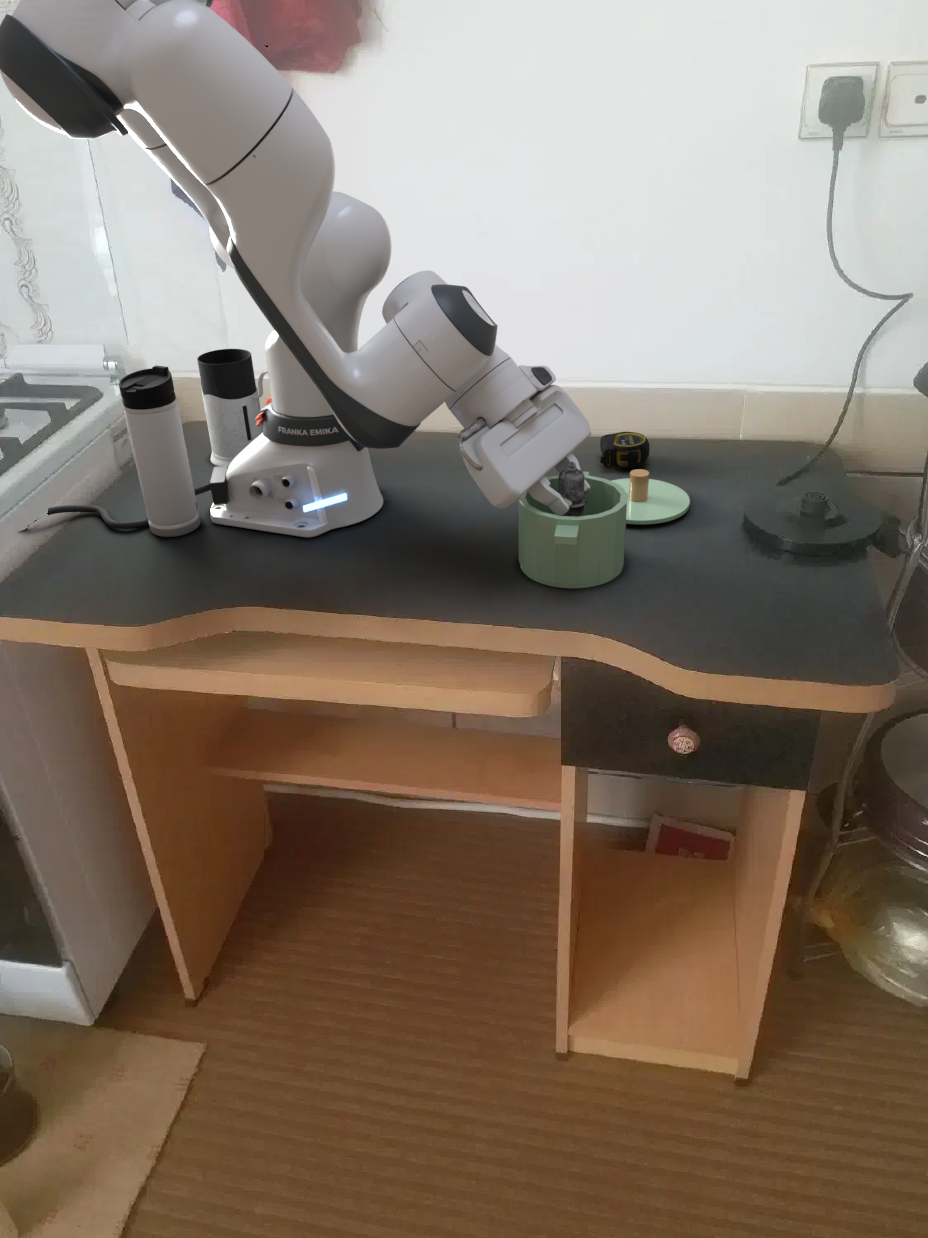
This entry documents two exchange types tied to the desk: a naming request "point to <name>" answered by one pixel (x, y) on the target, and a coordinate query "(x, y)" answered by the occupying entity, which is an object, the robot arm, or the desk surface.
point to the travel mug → (160, 451)
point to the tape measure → (624, 449)
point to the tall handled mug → (230, 401)
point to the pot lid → (652, 499)
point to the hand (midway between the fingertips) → (575, 503)
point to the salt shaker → (573, 489)
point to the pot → (574, 537)
